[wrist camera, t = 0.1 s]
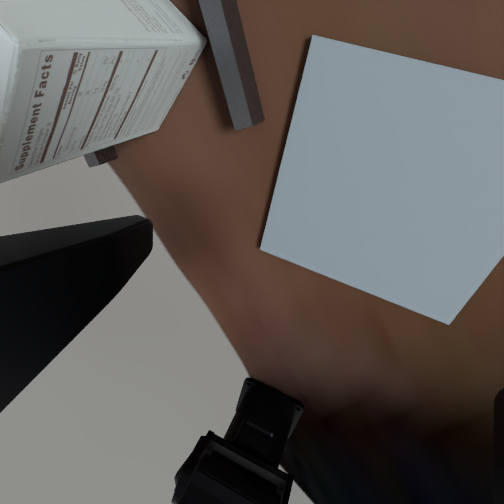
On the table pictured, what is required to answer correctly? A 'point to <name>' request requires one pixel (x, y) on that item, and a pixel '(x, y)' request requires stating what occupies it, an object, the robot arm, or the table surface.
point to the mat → (392, 177)
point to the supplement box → (86, 76)
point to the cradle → (221, 70)
